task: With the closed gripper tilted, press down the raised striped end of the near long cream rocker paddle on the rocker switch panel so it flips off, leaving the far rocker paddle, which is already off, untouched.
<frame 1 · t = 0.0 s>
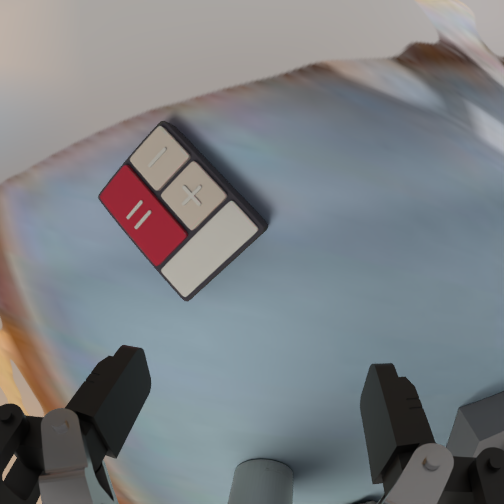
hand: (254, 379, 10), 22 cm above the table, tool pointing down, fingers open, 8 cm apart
calculator: (183, 208, 33), on the table
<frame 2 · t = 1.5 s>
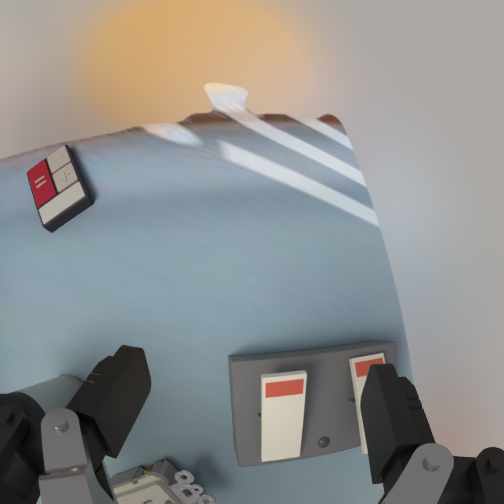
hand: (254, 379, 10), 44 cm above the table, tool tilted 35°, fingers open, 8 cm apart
calculator: (61, 190, 54), on the table
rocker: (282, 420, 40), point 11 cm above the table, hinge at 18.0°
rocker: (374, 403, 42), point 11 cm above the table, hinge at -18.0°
electrical outlet: (143, 489, 44), on the table
rocker switch panel: (308, 396, 52), on the table
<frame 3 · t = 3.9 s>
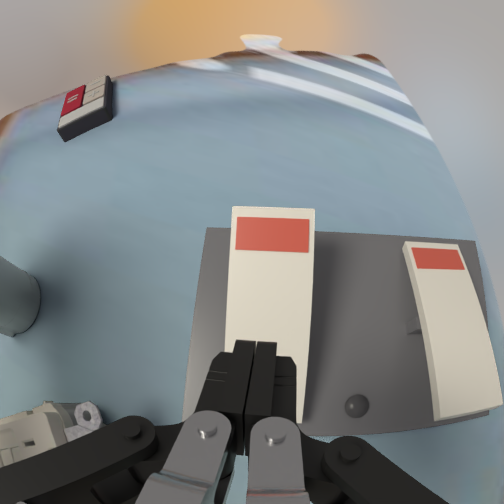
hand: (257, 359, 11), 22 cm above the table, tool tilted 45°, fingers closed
calculator: (90, 112, 54), on the table
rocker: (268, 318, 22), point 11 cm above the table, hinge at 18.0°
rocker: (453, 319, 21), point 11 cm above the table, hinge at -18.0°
electrical outlet: (63, 455, 28), on the table
rocker switch panel: (340, 342, 32), on the table
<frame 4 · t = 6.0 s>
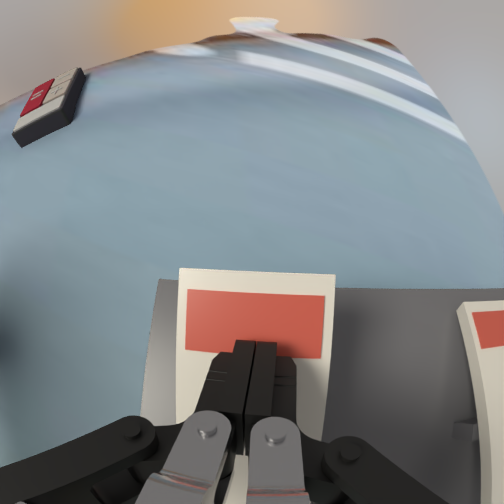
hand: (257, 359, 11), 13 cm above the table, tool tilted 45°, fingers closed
calculator: (55, 111, 43), on the table
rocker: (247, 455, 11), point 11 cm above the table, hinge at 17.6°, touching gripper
rocker switch panel: (355, 425, 21), on the table
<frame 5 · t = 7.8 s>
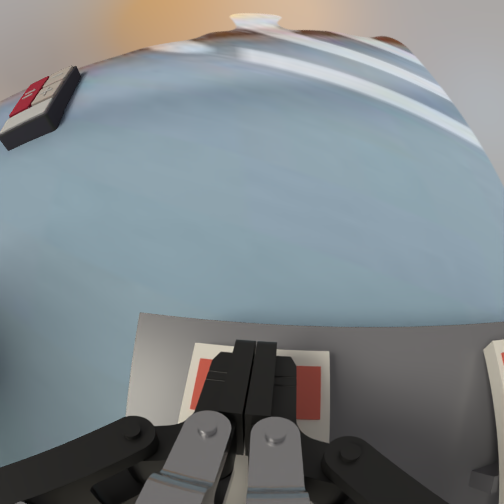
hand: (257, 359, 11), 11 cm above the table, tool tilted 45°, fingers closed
calculator: (46, 112, 40), on the table
rocker switch panel: (361, 464, 18), on the table
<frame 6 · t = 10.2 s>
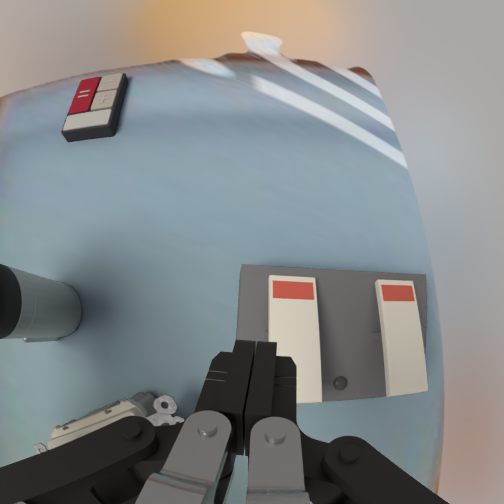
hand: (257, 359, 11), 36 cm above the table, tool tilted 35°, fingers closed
calculator: (98, 111, 54), on the table
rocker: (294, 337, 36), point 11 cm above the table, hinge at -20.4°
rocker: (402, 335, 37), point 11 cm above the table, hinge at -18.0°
electrical outlet: (121, 433, 42), on the table
rocker switch panel: (325, 334, 47), on the table
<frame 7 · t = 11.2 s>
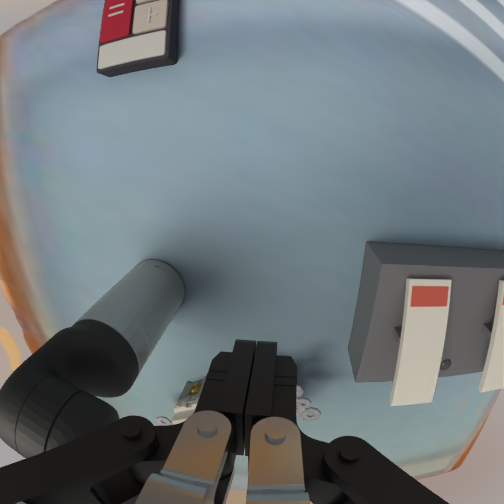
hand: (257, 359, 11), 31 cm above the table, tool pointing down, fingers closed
calculator: (144, 25, 34), on the table
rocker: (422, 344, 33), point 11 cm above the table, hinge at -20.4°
electrical outlet: (237, 388, 53), on the table
rocker switch panel: (438, 301, 42), on the table
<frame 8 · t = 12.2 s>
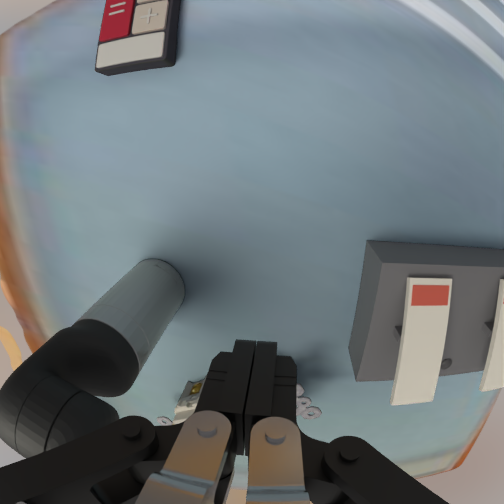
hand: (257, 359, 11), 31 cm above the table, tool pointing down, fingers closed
calculator: (144, 25, 34), on the table
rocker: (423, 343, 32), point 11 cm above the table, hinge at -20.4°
electrical outlet: (237, 387, 53), on the table
rocker switch panel: (439, 299, 42), on the table
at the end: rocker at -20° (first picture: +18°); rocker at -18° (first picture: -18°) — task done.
